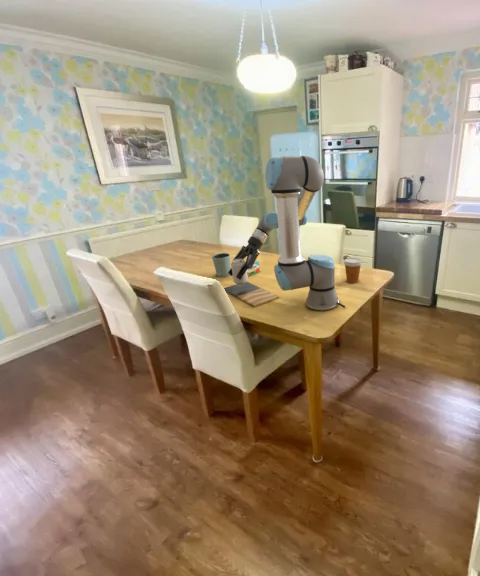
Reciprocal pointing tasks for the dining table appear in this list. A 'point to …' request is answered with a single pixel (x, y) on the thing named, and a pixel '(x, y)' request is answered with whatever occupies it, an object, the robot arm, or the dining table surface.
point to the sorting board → (251, 293)
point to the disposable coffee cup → (352, 269)
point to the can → (236, 267)
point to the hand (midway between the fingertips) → (234, 276)
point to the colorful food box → (253, 269)
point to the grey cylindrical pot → (222, 264)
